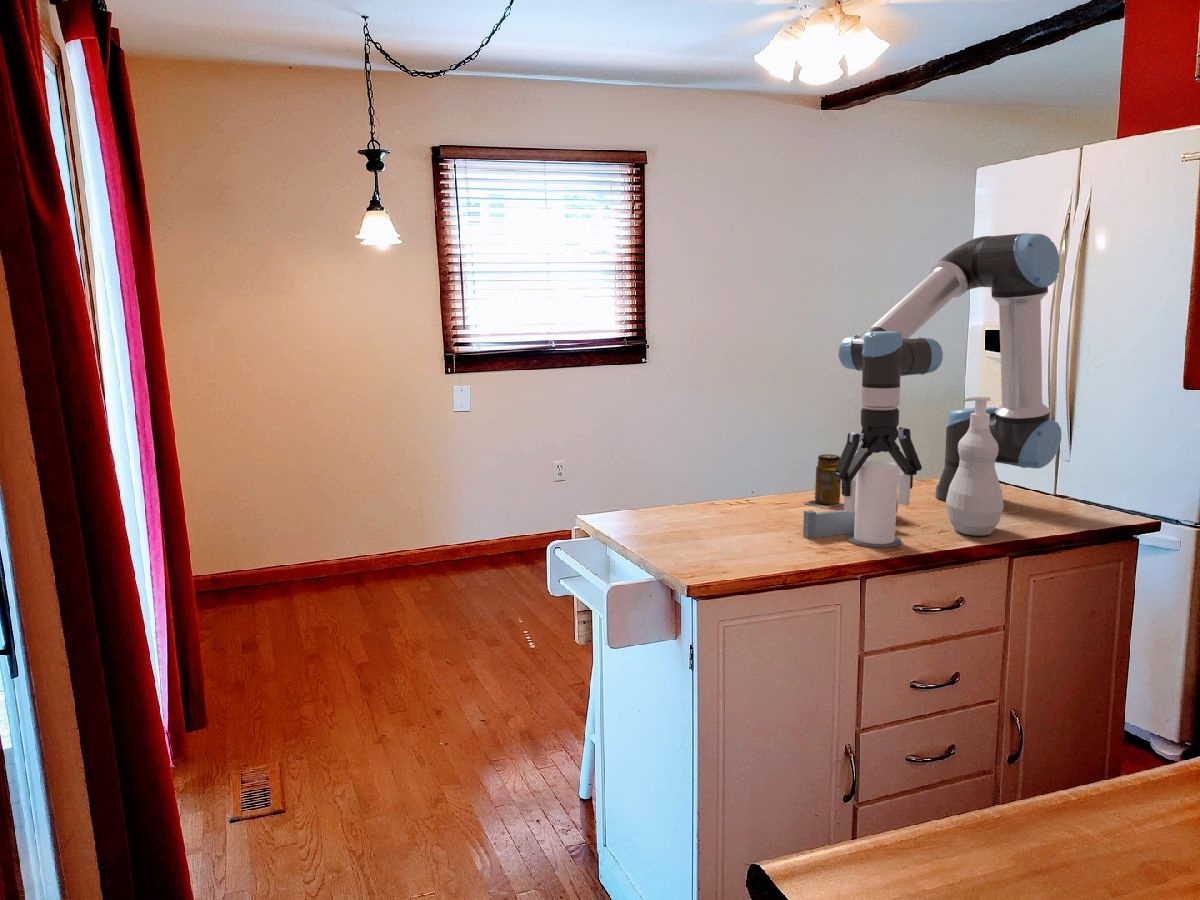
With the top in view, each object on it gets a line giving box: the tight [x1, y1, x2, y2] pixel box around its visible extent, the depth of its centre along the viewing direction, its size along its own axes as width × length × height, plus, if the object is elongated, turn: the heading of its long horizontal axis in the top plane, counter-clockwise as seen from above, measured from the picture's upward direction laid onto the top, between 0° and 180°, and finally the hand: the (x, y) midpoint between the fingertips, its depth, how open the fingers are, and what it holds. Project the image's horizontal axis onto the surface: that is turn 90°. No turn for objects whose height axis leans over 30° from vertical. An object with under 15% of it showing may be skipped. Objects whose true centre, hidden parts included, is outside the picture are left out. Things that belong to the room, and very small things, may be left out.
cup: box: [854, 460, 899, 544], centre depth 187 cm, size 8×8×16 cm
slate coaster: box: [846, 533, 902, 549], centre depth 188 cm, size 11×11×1 cm
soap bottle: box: [945, 396, 1005, 537], centre depth 193 cm, size 17×12×29 cm
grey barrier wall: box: [802, 509, 855, 539], centre depth 194 cm, size 22×2×6 cm, turn 110°
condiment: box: [803, 453, 844, 509], centre depth 221 cm, size 7×8×12 cm
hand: (876, 507), depth 187 cm, fingers open, 13 cm apart
